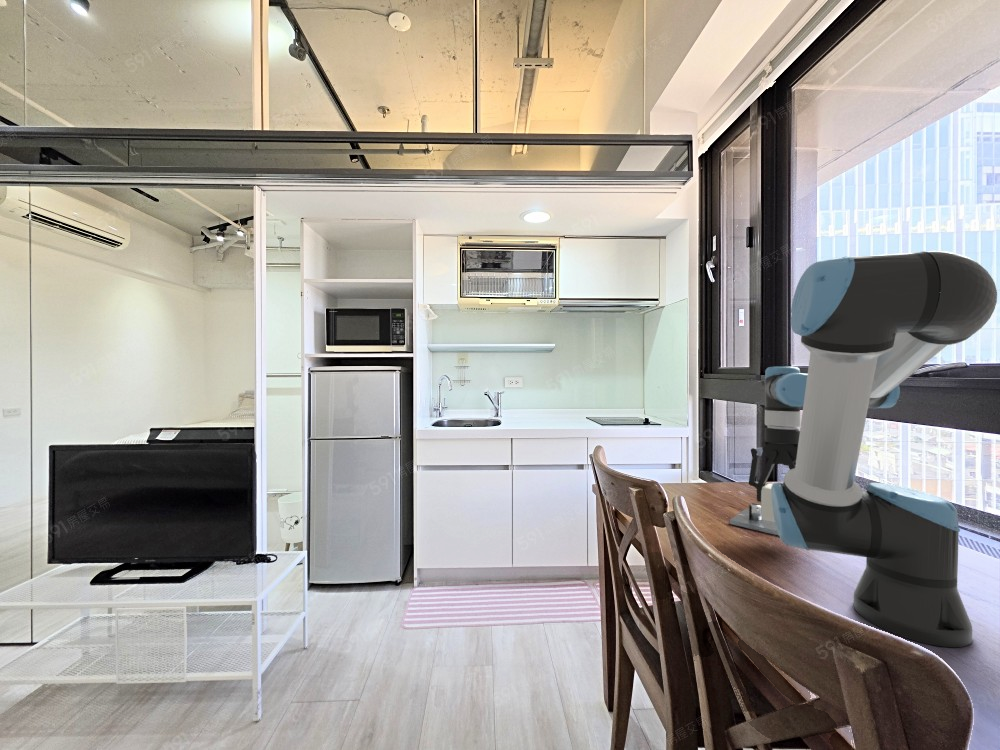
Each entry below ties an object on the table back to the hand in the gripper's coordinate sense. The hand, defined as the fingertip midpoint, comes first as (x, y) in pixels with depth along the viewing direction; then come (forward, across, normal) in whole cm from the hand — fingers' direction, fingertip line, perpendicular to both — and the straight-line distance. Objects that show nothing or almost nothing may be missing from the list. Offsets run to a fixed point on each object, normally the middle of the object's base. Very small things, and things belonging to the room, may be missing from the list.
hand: (781, 518), depth 107 cm
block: (0, 0, 0) cm, 0 cm away
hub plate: (+6, +7, -15) cm, 18 cm away
